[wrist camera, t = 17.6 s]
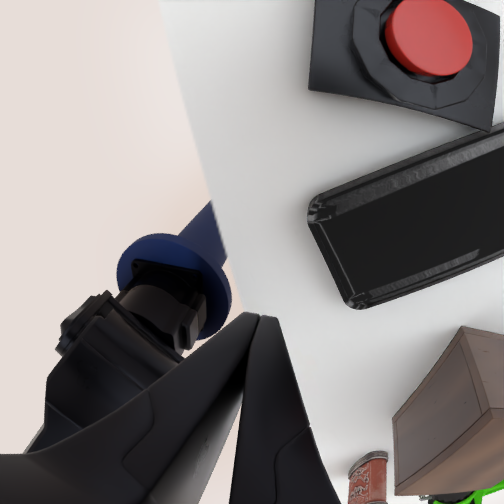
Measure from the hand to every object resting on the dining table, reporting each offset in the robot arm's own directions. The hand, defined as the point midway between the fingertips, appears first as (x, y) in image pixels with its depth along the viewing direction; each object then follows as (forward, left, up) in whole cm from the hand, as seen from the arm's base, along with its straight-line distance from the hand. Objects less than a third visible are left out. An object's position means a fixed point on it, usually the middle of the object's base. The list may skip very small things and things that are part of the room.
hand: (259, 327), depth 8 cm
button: (+5, +9, -9) cm, 14 cm away
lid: (+19, -15, -4) cm, 25 cm away
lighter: (+14, -32, -12) cm, 37 cm away
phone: (+9, 0, -12) cm, 15 cm away
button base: (+5, +9, -12) cm, 16 cm away
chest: (+19, -15, -12) cm, 27 cm away
